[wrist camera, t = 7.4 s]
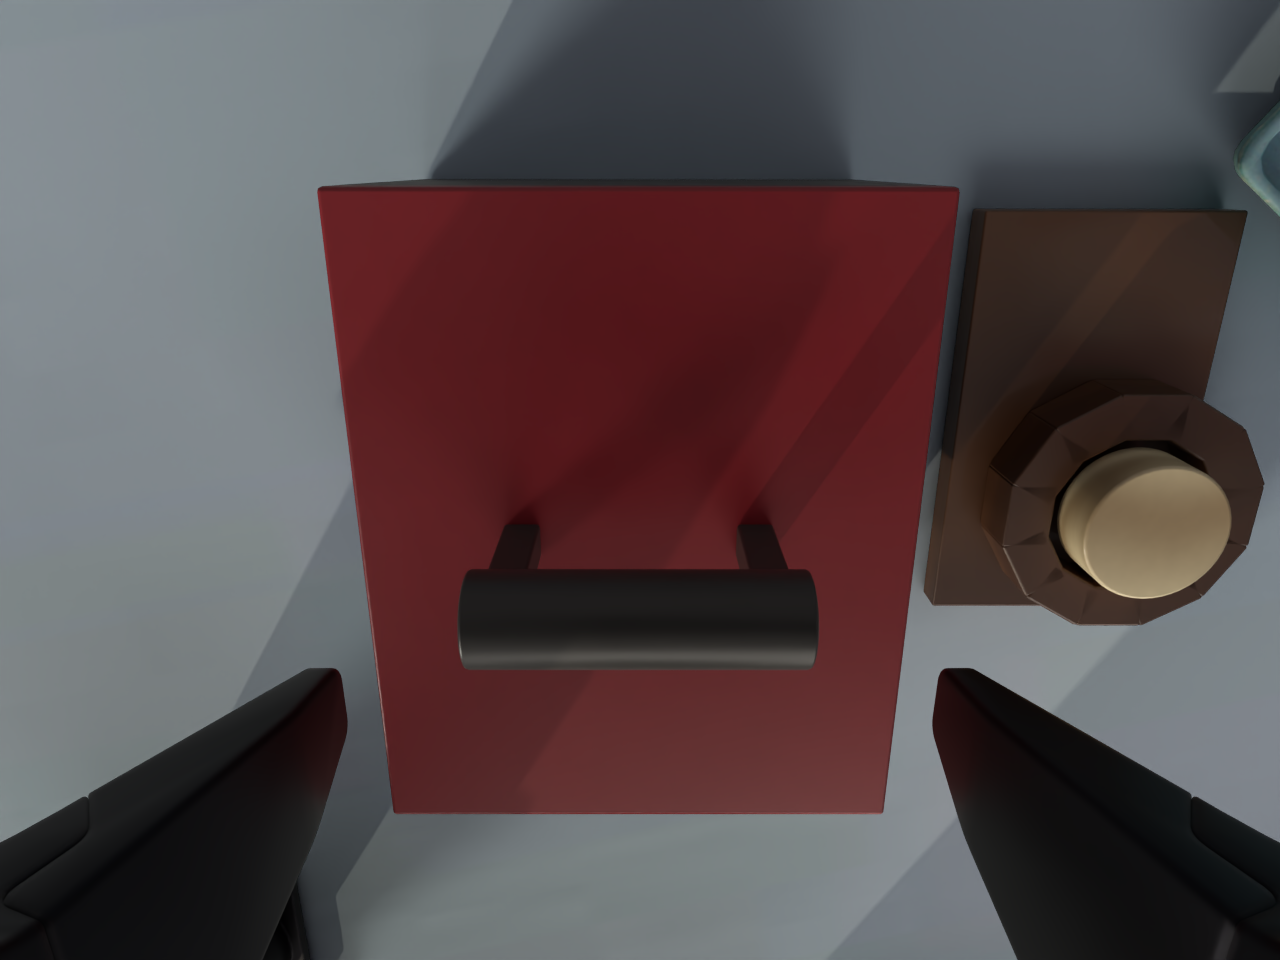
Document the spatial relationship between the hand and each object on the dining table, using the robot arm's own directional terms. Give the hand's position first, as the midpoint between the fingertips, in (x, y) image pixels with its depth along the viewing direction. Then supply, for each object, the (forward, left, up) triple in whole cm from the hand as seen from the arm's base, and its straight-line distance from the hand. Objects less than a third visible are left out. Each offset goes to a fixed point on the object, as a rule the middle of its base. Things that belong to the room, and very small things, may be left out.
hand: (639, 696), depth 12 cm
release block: (0, -12, -13) cm, 18 cm away
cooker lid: (0, 0, -6) cm, 6 cm away
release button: (-2, -13, -11) cm, 17 cm away
